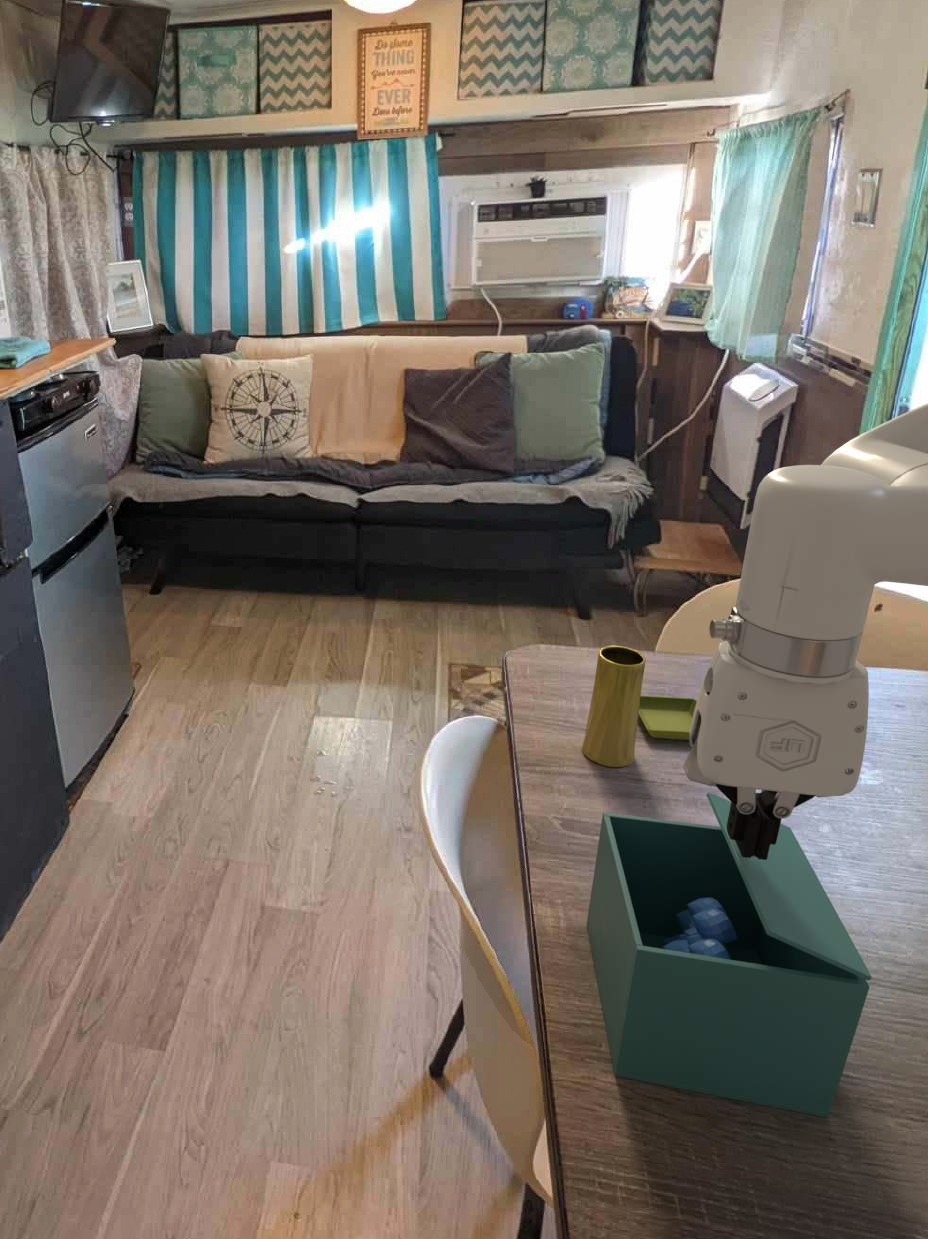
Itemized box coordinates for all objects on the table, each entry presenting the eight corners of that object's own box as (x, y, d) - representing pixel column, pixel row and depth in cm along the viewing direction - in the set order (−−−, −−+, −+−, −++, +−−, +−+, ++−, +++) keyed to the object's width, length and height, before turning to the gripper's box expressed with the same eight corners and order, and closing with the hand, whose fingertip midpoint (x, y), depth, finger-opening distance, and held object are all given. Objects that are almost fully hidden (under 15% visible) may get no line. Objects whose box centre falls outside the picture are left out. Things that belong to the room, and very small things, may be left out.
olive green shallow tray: (694, 710, 115) (696, 697, 114) (718, 747, 107) (721, 733, 106) (626, 707, 117) (628, 694, 116) (645, 743, 109) (647, 729, 108)
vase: (585, 735, 111) (598, 639, 106) (636, 747, 108) (652, 649, 103) (578, 760, 106) (591, 661, 101) (631, 773, 103) (648, 672, 98)
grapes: (710, 1079, 69) (770, 1044, 60) (624, 1031, 72) (670, 991, 63) (736, 950, 75) (794, 901, 67) (656, 910, 78) (702, 859, 69)
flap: (787, 830, 73) (790, 827, 73) (868, 981, 59) (872, 977, 59) (706, 794, 74) (708, 791, 74) (766, 934, 59) (769, 931, 59)
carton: (759, 951, 78) (788, 834, 73) (828, 1118, 64) (870, 986, 59) (586, 924, 82) (602, 812, 77) (614, 1076, 67) (637, 949, 63)
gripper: (688, 657, 58) (654, 866, 65) (945, 675, 54) (880, 895, 61) (664, 610, 65) (635, 804, 71) (890, 623, 61) (838, 827, 67)
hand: (748, 846), depth 66 cm, fingers closed
